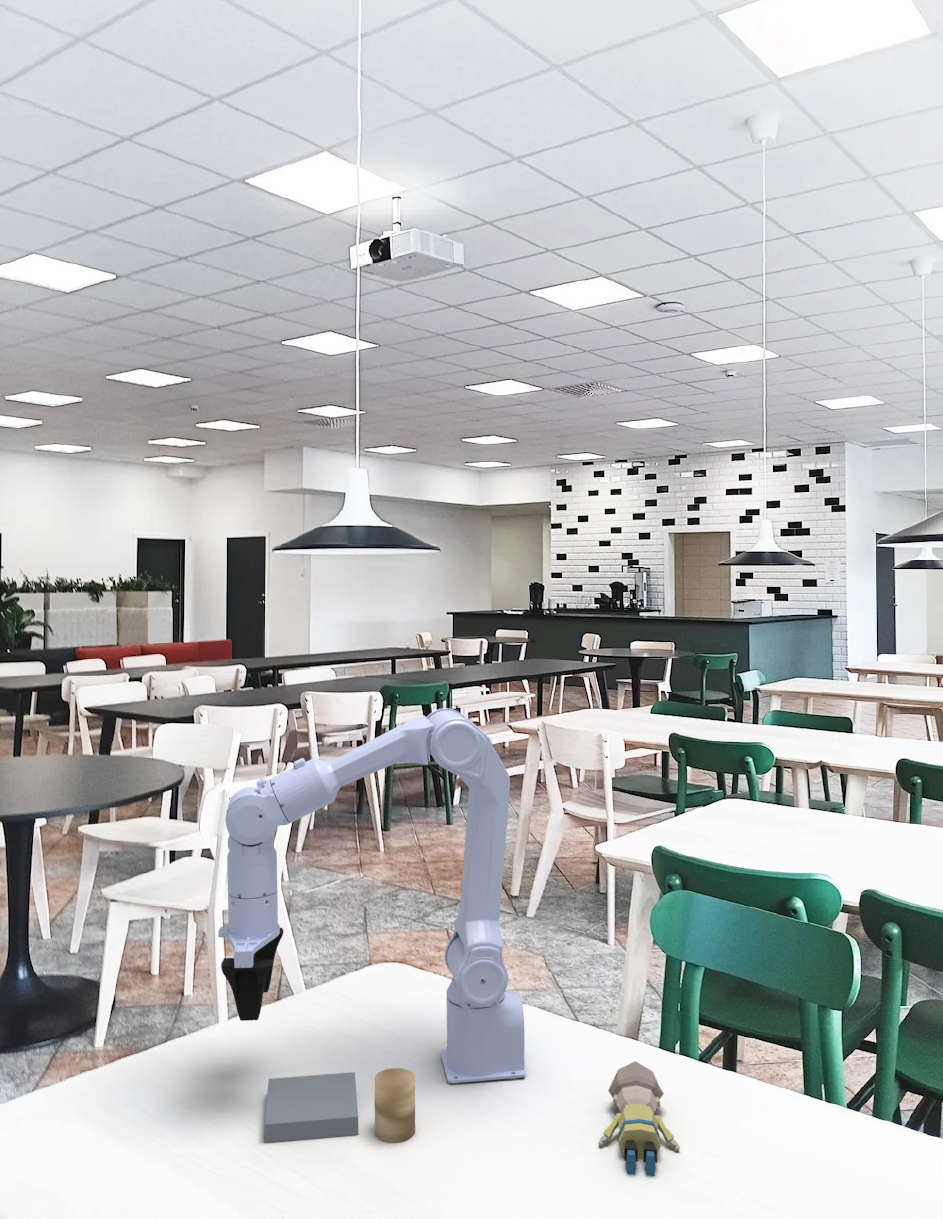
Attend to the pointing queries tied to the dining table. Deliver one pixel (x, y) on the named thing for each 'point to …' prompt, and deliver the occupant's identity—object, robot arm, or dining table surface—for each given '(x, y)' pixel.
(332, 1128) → the plate
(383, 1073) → the oak cylinder
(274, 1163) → the dining table surface
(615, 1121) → the toy
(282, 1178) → the dining table surface
